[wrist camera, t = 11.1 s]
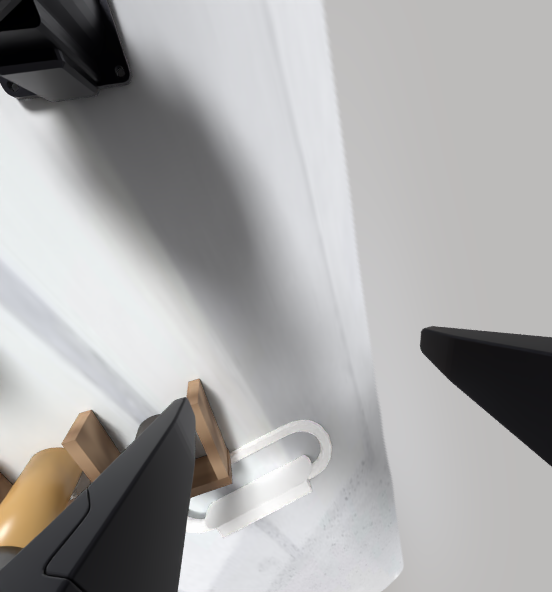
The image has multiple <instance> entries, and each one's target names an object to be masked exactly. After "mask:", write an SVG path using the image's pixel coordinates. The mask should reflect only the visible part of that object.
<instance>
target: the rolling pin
mask: <svg viewBox="0 0 552 592" xmlns="http://www.w3.org/2000/svg"><path fill="white" fill-rule="evenodd" d="M296 432H308V433H310V434H312V435H314V436H315V437H316V438H317V439H318V440H319V443H320V446H321V449H320V454H319V456H318V458H317V460H315V461H314V462H313V463H312V464H311V461H310V459H309V457H307V456H306V455H303V456H301V457H299V458H297V459H295V460H293V461H291V462H289V463H287V464H285V465H284V466H282V467H280V468H278V469H276V470H274V471H272V472H270V473H268V474H266V475H264V476H262V477H260V478H258V479H257V480H255V481H253V482H251V483H249V484H247V485H245V486H243V487H241V488H239V489H237V490H235V491H233V492H232V493H230V494H228V495H226V496H224V497H222V498H220V499H218V500H216V501H214V502H212V503H211V504H210V506H209V508H208V510H207V513H206V517H205V518H204V519H196V518H191V517H189V516H188V518H187V526H186V531H187V532H191V533H204V532H207V531H211V530H214V529H217V530H218V532H219V533H220V534H221V536H222V537H223V538H225V537H227V536H229V535H231V534H232V533H234V532H236V531H238V530H240V529H242V528H244V527H246V526H248V525H250V524H251V523H253V522H255V521H257V520H259V519H261V518H263V517H265V516H267V515H269V514H271V513H272V512H274V511H276V510H278V509H280V508H282V507H284V506H286V505H288V504H290V503H292V502H293V501H295V500H297V499H299V498H301V497H303V496H305V495H307V494H309V493H311V492H312V488H311V484H310V481H309V480H310V479H311V478H313V477H315V476H317V475H318V474H319V473H320V472H322V471H323V470H324V469H325V468H326V466H327V464H328V463H329V461H330V459H331V455H332V444H331V441H330V438H329V435H328V433H327V432H326V431H325V430H324V429H323V427H322V426H321V425H320V424H318V423H315V422H313V421H311V420H296V421H293V422H291V423H288V424H285V425H283V426H281V427H279V428H277V429H275V430H273V431H271V432H269V433H268V434H266V435H264V436H262V437H260V438H258V439H256V440H254V441H252V442H250V443H248V444H246V445H244V446H242V447H240V448H238V449H236V450H235V451H233V452H231V453H230V458H231V464H233V463H235V462H237V461H239V460H241V459H243V458H245V457H247V456H249V455H251V454H253V453H255V452H257V451H258V450H260V449H262V448H264V447H266V446H268V445H270V444H272V443H274V442H276V441H278V440H280V439H282V438H284V437H286V436H288V435H290V434H293V433H296Z"/></svg>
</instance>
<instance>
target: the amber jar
mask: <svg viewBox="0 0 552 592" xmlns="http://www.w3.org/2000/svg"><path fill="white" fill-rule="evenodd" d="M82 472H83V471H82V469H81V468H80V467H79V466H78V464H77V463H76V462H75V461H74V459H73V458H72V457H71V456H70V454H69V453H68V452H67V450H66V449H65V448H49V449H45V450H42V451H40V452H38V453H36V454H35V455H34V456H33V457H32V458H31V459H30V461H29V462H28V464H27V465H26V467H25V468H24V470H23V471H22V473H21V474H20V476H19V477H18V479H17V480H16V482H15V483H14V485H13V486H12V488H11V489H10V491H9V492H8V494H7V495H6V497H5V498H4V500H3V501H2V503H1V504H0V569H1V568H2V567H4V566H5V565H6V564H7V563H8V562H9V561H10V560H11V559H12V558H13V557H15V556H16V555H17V554H18V553H19V552H20V551H21V550H22V549H23V548H24V547H25V546H27V545H28V544H29V543H30V542H31V541H32V540H33V539H34V538H35V537H36V536H37V535H38V534H39V533H41V532H42V531H43V530H44V529H45V528H46V527H47V526H48V525H49V524H50V523H51V522H52V521H53V520H54V519H55V518H56V517H57V516H58V515H59V514H61V513H62V512H63V511H64V510H65V508H66V506H67V504H68V502H69V500H70V498H71V495H72V493H73V491H74V489H75V487H76V485H77V482H78V480H79V478H80V476H81V474H82Z"/></svg>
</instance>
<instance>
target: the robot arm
mask: <svg viewBox="0 0 552 592" xmlns="http://www.w3.org/2000/svg"><path fill="white" fill-rule="evenodd" d="M120 68H121V69H124V70H125V75H124V76H123V77H119V76H118V75H117V71H118V69H120ZM131 79H132V75H131V71H130V68H129V65H128V61H127V58H126V55H125V52H124V49H123V46H122V43H121V40H120V37H119V34H118V31H117V28H116V25H115V22H114V19H113V16H112V12H111V9H110V6H109V3H108V0H0V83H1V85H2V87H3V89H4V90H5V92H7V93H8V94H9V95H11V96H13V97H15V98H17V99H30V98H37V97H42V98H44V99H46V100H48V101H50V102H57V101H63V100H70V99H77V98H84V97H91V96H97V94H98V92H99V89H100V88H107V87H114V86H121V85H127V84H129V83H130V82H131ZM13 83H15V84H17V85H18V87H19V89H18V91H16V92H14V90H13V89H12V84H13ZM420 348H421V351H422V353H423V354H424V355H425V356H426V357H427V358H428V359H429V360H430V361H431V362H432V363H433V364H434V365H435V366H436V367H437V368H438V369H439V370H440V371H441V372H442V373H443V374H444V375H445V376H446V377H447V378H448V379H449V380H450V381H451V382H452V383H453V384H454V385H456V386H457V387H458V388H459V389H460V390H461V391H463V392H464V393H465V394H466V395H467V396H469V397H470V398H471V399H472V400H473V401H475V402H476V403H477V404H478V405H479V406H480V407H482V408H483V409H484V410H485V411H486V412H488V413H489V414H490V415H491V416H492V417H494V418H495V419H496V420H497V421H498V422H499V423H501V424H502V425H503V426H504V427H505V428H507V429H508V430H509V431H510V432H511V433H512V434H514V435H515V436H516V437H517V438H518V439H520V440H521V441H522V442H523V443H524V444H526V445H527V446H528V447H529V448H530V449H531V450H533V451H534V452H535V453H536V454H537V455H538V456H540V457H541V458H542V459H543V460H545V461H546V462H547V463H548V464H549V465H551V466H552V337H542V336H531V335H521V334H510V333H498V332H488V331H478V330H467V329H457V328H446V327H435V326H431V327H427V328H424V329H423V330H422V331H421V341H420ZM195 438H196V419H195V414H194V412H193V409H192V407H191V405H190V402H189V400H188V398H186V397H184V398H180V399H177V400H175V401H173V402H172V403H171V404H170V405H169V406H168V407H167V408H166V409H165V410H164V411H163V412H162V413H161V414H160V415H159V416H158V417H157V418H156V419H155V420H154V421H153V422H152V423H151V424H150V425H149V426H148V427H147V428H146V429H145V430H144V431H143V432H142V433H141V434H140V435H139V436H138V437H137V438H136V439H135V440H134V441H133V442H132V443H131V444H130V445H129V446H128V447H127V448H126V449H125V450H124V451H123V452H122V453H121V454H120V455H119V456H118V457H117V458H116V459H115V460H114V461H113V462H112V463H111V464H110V465H109V466H108V467H107V468H106V469H105V470H104V471H103V472H102V473H101V474H100V475H99V476H98V477H97V478H96V479H95V480H94V481H93V482H92V483H91V484H90V485H89V487H88V489H85V490H84V491H83V492H82V493H81V494H80V495H79V496H78V497H77V498H76V499H75V500H74V501H73V502H72V503H71V504H70V505H69V506H68V507H67V508H66V509H65V510H64V511H63V512H62V513H61V514H59V515H58V516H57V517H56V518H55V519H54V520H53V521H52V522H51V523H50V524H49V525H48V526H47V527H46V528H45V529H44V530H43V531H42V532H41V533H39V534H38V535H37V536H36V537H35V538H34V539H33V540H32V541H31V542H30V543H29V544H28V545H27V546H25V547H24V548H23V549H22V550H21V551H20V552H19V553H18V554H17V555H16V556H15V557H13V558H12V559H11V560H10V561H9V562H8V563H7V564H6V565H5V566H4V567H2V568H1V569H0V592H178V585H179V577H180V570H181V563H182V555H183V548H184V540H185V533H186V526H187V518H188V511H189V503H190V496H191V489H192V481H193V474H194V466H195Z"/></svg>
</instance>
